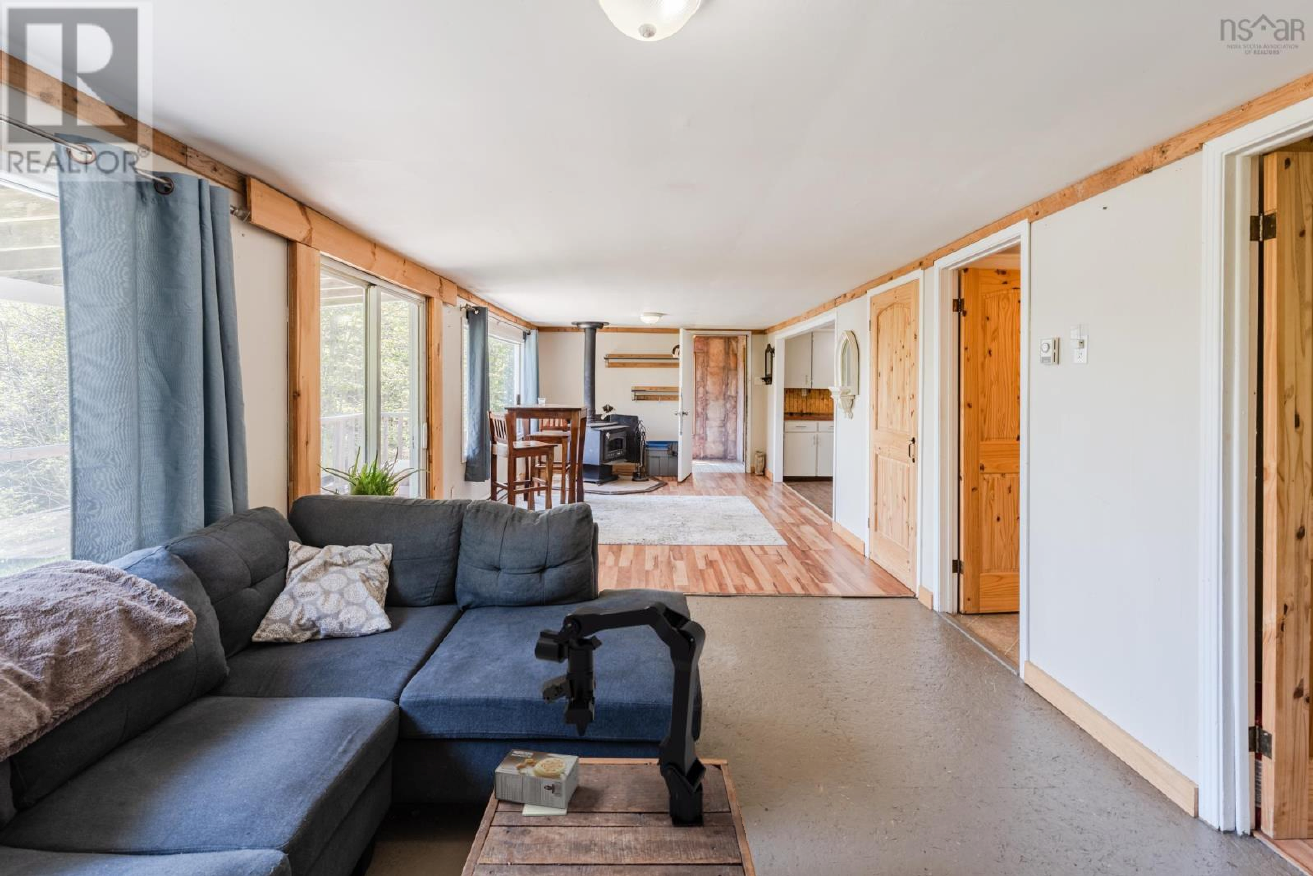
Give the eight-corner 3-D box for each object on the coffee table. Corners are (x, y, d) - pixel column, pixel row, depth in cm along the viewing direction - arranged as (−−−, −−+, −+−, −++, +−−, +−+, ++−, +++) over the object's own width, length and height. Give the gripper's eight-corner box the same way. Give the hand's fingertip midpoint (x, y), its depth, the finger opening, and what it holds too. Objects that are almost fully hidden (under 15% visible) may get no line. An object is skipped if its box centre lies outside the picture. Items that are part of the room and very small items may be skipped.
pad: (572, 780, 133) (572, 778, 133) (565, 815, 121) (565, 813, 121) (532, 781, 133) (532, 779, 133) (522, 816, 121) (522, 814, 121)
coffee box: (579, 783, 131) (512, 774, 134) (579, 755, 131) (512, 747, 134) (564, 810, 122) (493, 799, 125) (564, 780, 122) (493, 770, 125)
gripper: (548, 651, 139) (549, 716, 139) (538, 685, 120) (539, 761, 121) (596, 649, 140) (596, 714, 140) (592, 683, 121) (593, 758, 121)
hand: (581, 735), depth 130 cm, fingers closed
